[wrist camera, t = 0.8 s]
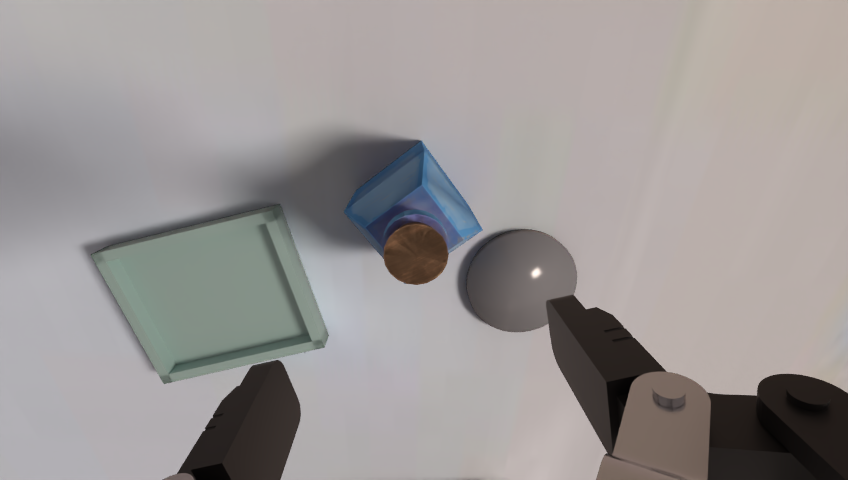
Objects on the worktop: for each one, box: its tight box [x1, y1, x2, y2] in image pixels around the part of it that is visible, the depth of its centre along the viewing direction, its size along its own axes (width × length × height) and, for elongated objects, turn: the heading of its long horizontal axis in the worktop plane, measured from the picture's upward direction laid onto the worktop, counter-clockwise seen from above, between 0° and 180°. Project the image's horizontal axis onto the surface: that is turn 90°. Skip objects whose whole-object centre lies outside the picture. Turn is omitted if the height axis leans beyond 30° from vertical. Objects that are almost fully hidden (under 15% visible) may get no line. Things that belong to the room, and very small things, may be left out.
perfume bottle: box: [344, 141, 482, 285], centre depth 25 cm, size 6×6×12 cm
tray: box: [91, 204, 329, 384], centre depth 32 cm, size 12×14×2 cm
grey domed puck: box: [467, 230, 577, 332], centre depth 33 cm, size 9×9×1 cm
